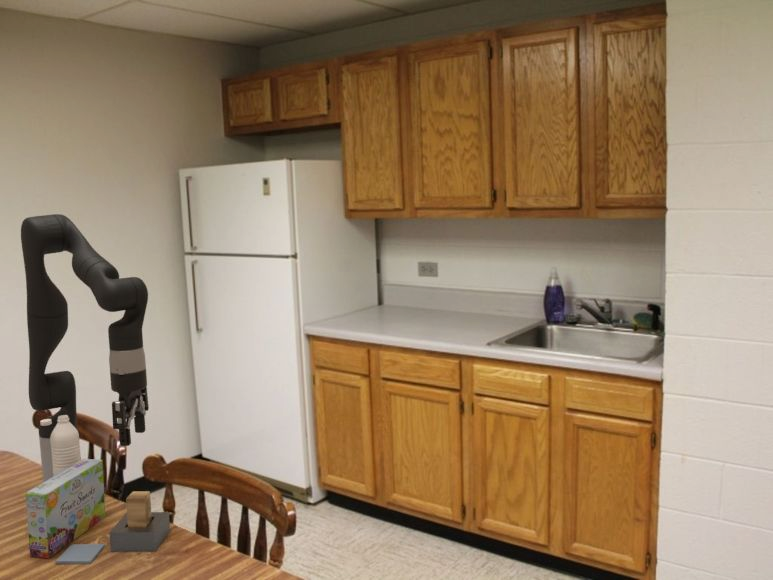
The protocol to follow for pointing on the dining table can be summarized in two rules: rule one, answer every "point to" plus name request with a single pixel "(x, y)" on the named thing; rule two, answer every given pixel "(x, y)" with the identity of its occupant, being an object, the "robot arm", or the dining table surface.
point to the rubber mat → (80, 554)
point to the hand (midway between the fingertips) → (133, 438)
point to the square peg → (139, 509)
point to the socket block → (139, 534)
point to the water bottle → (63, 444)
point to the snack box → (65, 507)
